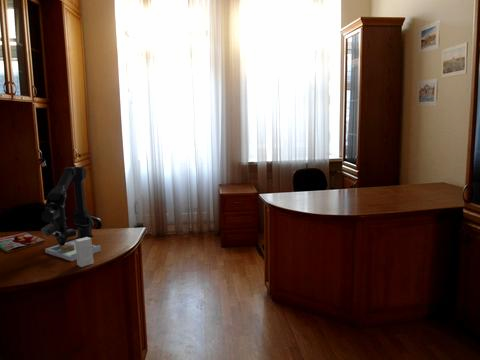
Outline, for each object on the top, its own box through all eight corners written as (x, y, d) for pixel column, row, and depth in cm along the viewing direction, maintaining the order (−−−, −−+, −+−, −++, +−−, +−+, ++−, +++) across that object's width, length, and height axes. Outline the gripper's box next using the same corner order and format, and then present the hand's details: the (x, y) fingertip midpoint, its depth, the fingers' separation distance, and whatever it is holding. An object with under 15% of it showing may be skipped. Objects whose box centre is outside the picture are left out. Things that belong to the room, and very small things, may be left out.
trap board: (74, 243, 211) (74, 238, 210) (100, 251, 199) (100, 245, 198) (45, 252, 198) (44, 246, 197) (71, 261, 186) (71, 255, 185)
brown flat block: (69, 248, 198) (68, 243, 197) (74, 249, 195) (74, 245, 195) (60, 250, 194) (60, 246, 194) (66, 252, 192) (65, 247, 191)
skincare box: (89, 261, 185) (87, 236, 183) (93, 263, 182) (91, 238, 180) (76, 265, 181) (74, 239, 179) (80, 267, 178) (78, 241, 176)
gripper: (32, 218, 192) (35, 249, 194) (53, 223, 181) (57, 256, 184) (54, 213, 201) (57, 242, 203) (76, 218, 190) (78, 249, 193)
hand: (61, 247), depth 196 cm, fingers closed
